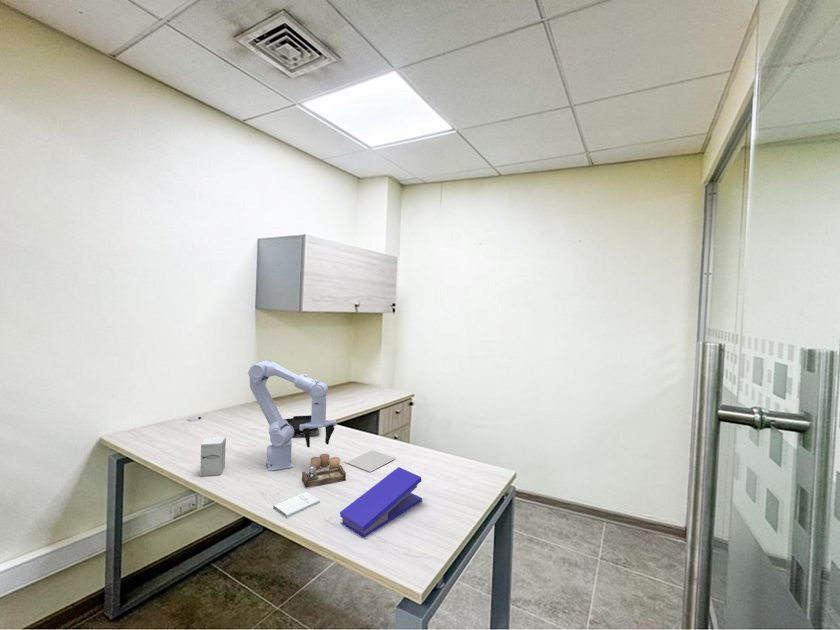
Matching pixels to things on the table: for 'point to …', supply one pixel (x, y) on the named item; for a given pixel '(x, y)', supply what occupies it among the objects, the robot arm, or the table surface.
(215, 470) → the supplement box
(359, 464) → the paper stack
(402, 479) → the stapler
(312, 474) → the slider
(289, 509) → the external hard drive
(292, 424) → the tray
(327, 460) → the peach rounded cylinder
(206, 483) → the table surface
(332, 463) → the peach domed cylinder
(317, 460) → the peach domed capsule
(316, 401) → the robot arm
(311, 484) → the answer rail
